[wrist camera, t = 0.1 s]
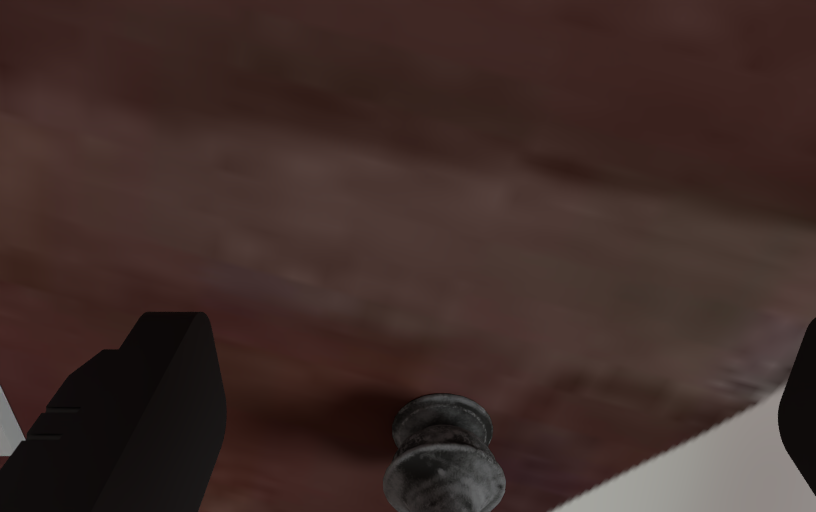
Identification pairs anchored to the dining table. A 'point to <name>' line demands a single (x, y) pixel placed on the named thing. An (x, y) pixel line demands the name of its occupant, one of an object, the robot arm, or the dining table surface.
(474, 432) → the dark chess piece
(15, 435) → the panel
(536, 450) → the dining table surface
